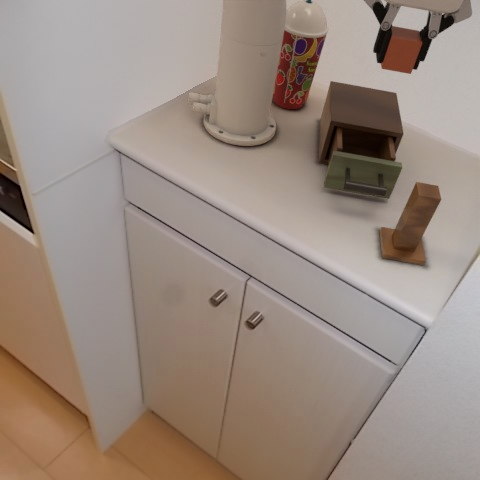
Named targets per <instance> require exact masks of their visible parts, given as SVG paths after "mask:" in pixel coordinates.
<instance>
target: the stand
mask: <svg viewBox="0 0 480 480" xmlns="http://www.w3.org/2000/svg"><path fill="white" fill-rule="evenodd" d="M441 201H442V195H441V191H440V187H439V185H437V184H430V183H425V182H419V181H416V182H415V184H414V186H413V188H412V190H411V192H410V195H409V197H408V199H407V201H406V204H405V205H404V208H403V210H402V212H401V214H400V217H399V219H398V221H397V223H396V225H395V228H391V227H384V226H380V229H379V238H380V239H379V240H380V250H381V251H380V252H381V257H382V259H385V260H391V261H397V262H403V263H408V264H409V263H410V264H415V265H420V266H425V264H426V262H427V260H426V254H425V249H424V244H423V243H424V242H423V236H424V234H425V232H426V230H427V228H428V227H429V224H430V222H431V220H432V218H433V217H434V215H435V213H436V211H437V209H438V208H439V206H440V203H441Z"/></svg>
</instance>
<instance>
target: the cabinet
mask: <svg viewBox="0 0 480 480" xmlns="http://www.w3.org/2000/svg"><path fill="white" fill-rule="evenodd" d="M325 97H326V98H325V101H324V105H323V108H322V113H321V117H320V120H319V144H318V145H319V146H318V148H319V149H318V152H319V154H318V163H319V164H324V165H329V143H330V140H331V136H332V133H333V129H334V126H338V127H344V128H349V129H355V130H361V131H366V132H372V133H377V134H383V135H388V136H393V142H394V149H395V155H396V154H397V151H398V149H399V146H400V144H401V141H402V139H403V137H404V127H403V122H402V116H401V111H400V105H399V100H398V94H397V92H393V91H388V90H382V89H377V88H372V87H366V86H360V85H355V84H350V83H345V82H344V83H343V82H338V81H332V80H331V81H330V82H329V86H328V90H327V93H326V96H325Z"/></svg>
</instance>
